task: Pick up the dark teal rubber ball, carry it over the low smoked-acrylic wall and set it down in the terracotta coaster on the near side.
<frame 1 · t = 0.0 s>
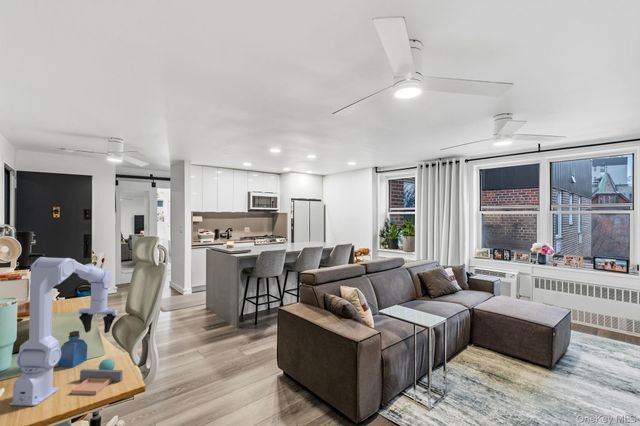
hand: (97, 332, 130), 10 cm above the table, fingers open, 7 cm apart
ball: (106, 372, 118), on the table
wall: (101, 380, 112), on the table
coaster: (92, 387, 108), on the table
perfume bottle: (72, 363, 124), on the table
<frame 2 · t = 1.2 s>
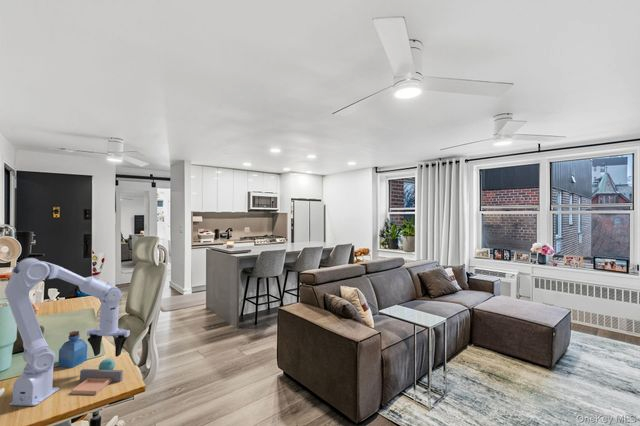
hand: (107, 355, 118), 7 cm above the table, fingers open, 7 cm apart
nothing on the table moved.
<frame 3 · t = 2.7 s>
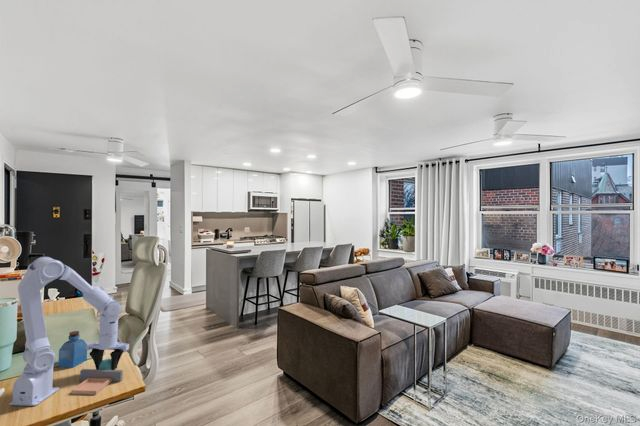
hand: (106, 369, 118), 1 cm above the table, fingers closed on ball, 5 cm apart
ball: (106, 372, 118), on the table, touching gripper
everything else where it was.
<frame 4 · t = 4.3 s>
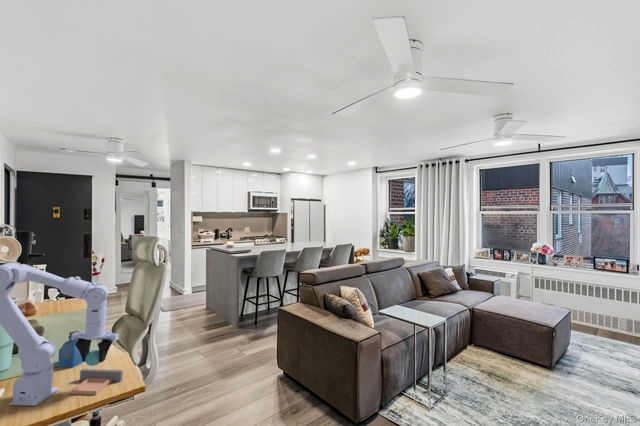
hand: (93, 360, 108), 9 cm above the table, fingers closed on ball, 5 cm apart
ball: (93, 365, 108), point 7 cm above the table, touching gripper
everything else where it was.
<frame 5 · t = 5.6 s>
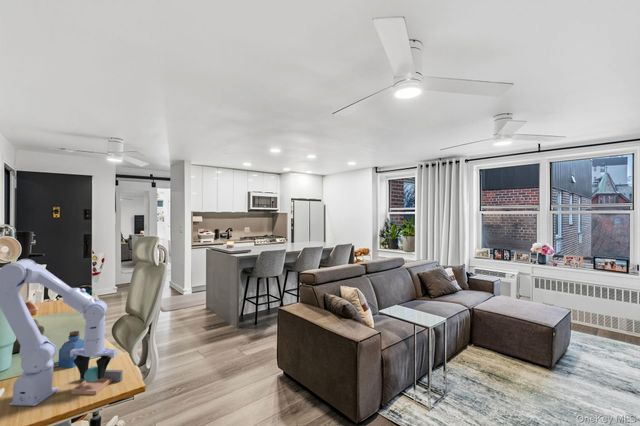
hand: (92, 377, 108), 3 cm above the table, fingers closed on ball, 5 cm apart
ball: (92, 381, 108), point 2 cm above the table, touching gripper
everything else where it was.
when the fingers open (3 cm above the table, at t = 6.3 s): ball drops 2 cm, resting on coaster.
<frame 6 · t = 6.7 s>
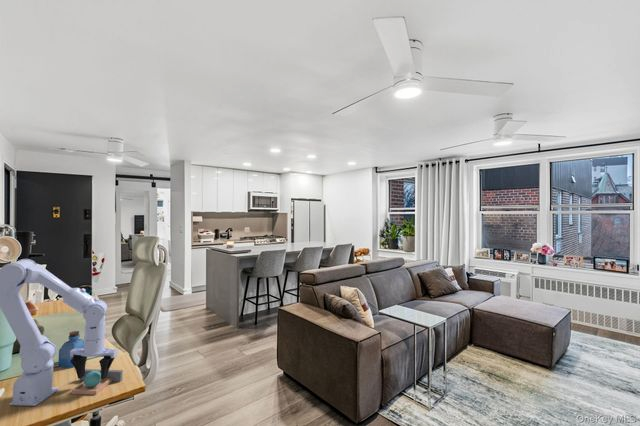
hand: (92, 377, 108), 3 cm above the table, fingers open, 7 cm apart
ball: (92, 386, 108), resting on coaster
everything else where it was.
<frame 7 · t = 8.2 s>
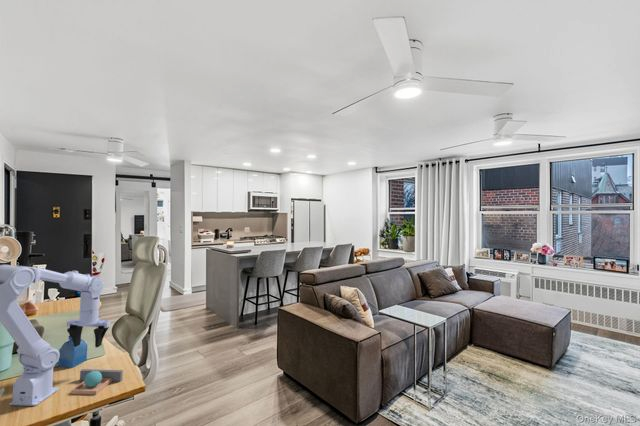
hand: (87, 346, 117), 10 cm above the table, fingers open, 7 cm apart
nothing on the table moved.
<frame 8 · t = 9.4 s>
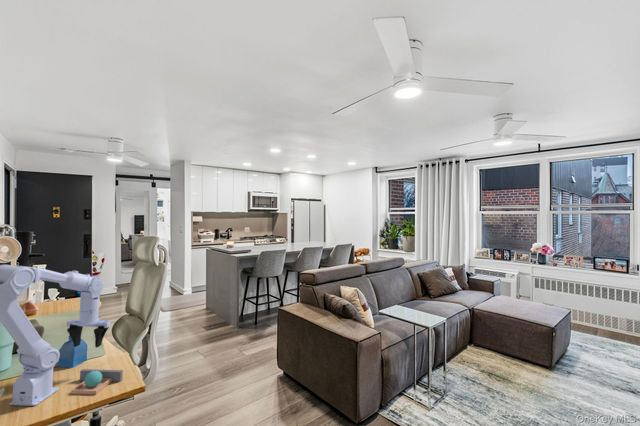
hand: (87, 346, 117), 10 cm above the table, fingers open, 7 cm apart
nothing on the table moved.
at the end: ball 0.1 cm from the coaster (horizontally); ball resting on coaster; the gripper is holding nothing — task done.
